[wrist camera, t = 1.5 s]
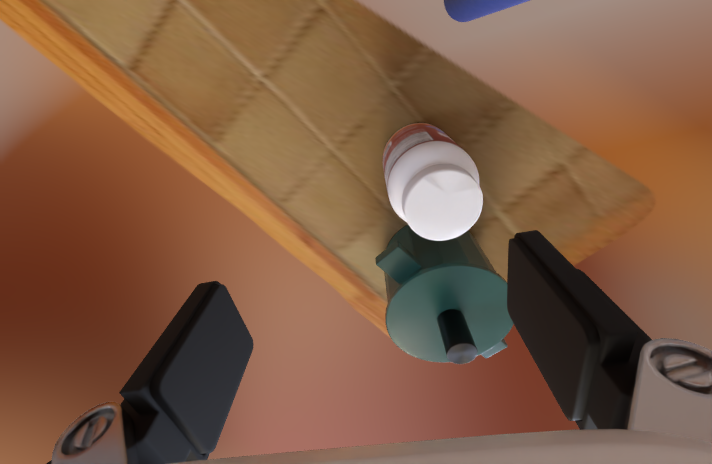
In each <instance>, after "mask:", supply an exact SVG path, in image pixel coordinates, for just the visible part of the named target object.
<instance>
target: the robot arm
mask: <svg viewBox="0 0 712 464" xmlns="http://www.w3.org/2000/svg"><path fill="white" fill-rule="evenodd" d="M507 310H508V313H509V316H510V318H511V320H512V321H513V323H514V325H515V327H516V329H517V330H518V332H519V334H520V335H521V337H522V339H523V341H524V343H525V345H526V346H527V348H528V350H529V352H530V353H531V355H532V357H533V359H534V361H535V363H536V364H537V366H538V368H539V370H540V371H541V373H542V375H543V377H544V379H545V381H546V382H547V384H548V386H549V388H550V389H551V391H552V393H553V395H554V397H555V398H556V400H557V402H558V404H559V405H560V407H561V409H562V411H563V413H564V414H565V416H566V417H567V419H568V420H570V421H573V420H575V421H576V423H577V425H578V427H579V428H580V430H562V431H548V432H531V433H517V434H501V435H488V436H476V437H463V438H451V439H439V440H426V441H414V442H402V443H390V444H379V445H367V446H355V447H344V448H332V449H320V450H310V451H297V452H286V453H275V454H264V455H253V456H242V457H231V458H221V459H210V460H207V458H208V456H209V453H211V452H212V451H213V450H214V449H215V447H216V445H217V442H218V440H219V437H220V434H221V431H222V429H223V426H224V424H225V421H226V419H227V416H228V413H229V411H230V408H231V405H232V403H233V400H234V398H235V395H236V392H237V390H238V387H239V384H240V382H241V379H242V377H243V374H244V371H245V369H246V366H247V363H248V361H249V358H250V355H251V353H252V350H253V339H252V337H251V335H250V333H249V331H248V329H247V327H246V325H245V324H244V322H243V320H242V318H241V316H240V314H239V312H238V310H237V308H236V306H235V304H234V302H233V300H232V298H231V296H230V294H229V292H228V290H227V288H226V287H225V286H224V285H222V284H220V283H219V282H217V281H213V282H207V283H201V284H199V285H197V287H196V288H195V289H194V291H193V292H192V293H191V295H190V296H189V298H188V299H187V300H186V302H185V303H184V305H183V306H182V307H181V309H180V310H179V311H178V313H177V314H176V315H175V317H174V318H173V320H172V321H171V322H170V324H169V325H168V326H167V328H166V329H165V331H164V332H163V333H162V335H161V336H160V337H159V339H158V340H157V342H156V343H155V344H154V346H153V347H152V348H151V350H150V351H149V353H148V354H147V355H146V357H145V358H144V359H143V361H142V362H141V364H140V365H139V366H138V368H137V369H136V370H135V372H134V373H133V375H132V376H131V377H130V379H129V380H128V382H127V383H126V384H125V386H124V387H123V388H122V390H121V391H120V394H121V395H122V396H123V397H124V400H123V402H122V403H121V405H120V404H118V403H116V402H106V403H103V404H99V405H97V406H95V407H93V408H91V409H89V410H88V411H86V412H85V413H84V414H82V415H81V416H79V417H78V418H77V419H76V420H75V421H74V422H73V423H71V424H70V425H69V426H68V428H67V429H66V430H65V431H64V432H63V433H62V434H61V436H60V438H59V439H58V441H57V442H56V444H55V448H54V450H53V455H52V460H51V461H50V462H48V463H47V464H712V351H711V350H709V349H707V348H705V347H702V346H700V345H697V344H694V343H691V342H687V341H683V340H678V339H667V338H661V339H656V340H652V339H651V338H650V337H649V336H647V334H645V332H644V331H643V330H641V329H640V328H639V327H638V326H637V325H636V324H635V323H634V322H633V321H632V320H631V319H630V318H629V317H628V316H627V315H626V314H625V313H624V312H623V311H622V310H621V309H620V308H619V307H618V306H617V305H616V304H615V303H614V302H613V301H612V300H611V299H610V298H609V297H608V296H607V295H606V294H605V293H604V292H603V291H602V290H601V289H600V288H599V287H598V286H597V285H596V284H595V283H594V282H593V281H592V280H591V279H590V278H589V277H588V276H587V275H586V274H585V273H584V272H582V271H581V270H579V269H576V268H575V267H574V266H573V265H572V264H571V263H570V262H569V261H568V260H567V259H566V258H565V257H564V256H563V255H562V254H561V253H560V252H559V251H558V250H557V249H556V248H555V247H554V246H553V245H552V244H551V243H550V242H549V241H548V240H547V239H546V238H545V237H544V236H543V235H542V234H541V233H540V232H539V231H537V230H534V231H528V232H522V233H517V234H515V237H514V239H510V240H509V252H508V283H507Z"/></svg>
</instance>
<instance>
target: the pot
mask: <svg viewBox="0 0 712 464" xmlns="http://www.w3.org/2000/svg"><path fill="white" fill-rule="evenodd" d="M456 262H461V263H471V264H477V265H480V266H483V267H486V268H488V269H490V270H493V271H494V272H496V271H495V270H494V268H493V266H492V265H491V263H490V262H489V260H488V258H487V257H486V255H485V254H484V252H483V250H482V249H481V247H480V246H479V244H478V242H477V241H476V239H475V238H474V237H473V236H472V234H471V233H470V232H469V231H466V232H465V233H463V234H462V235H460V236H458V237H456V238H453V239H449V240H443V241H436V240H429V239H426V238H424V237H421V236H420V235H418V234H417V233H415V232H414V231H413V230H412V229H411V228H410V226H409V225H406V226H405V227H403V228H402V229H401V230H399V231H398V232H397V233H396V234H395V235H394V236H393V238H392V239H391V240H390V242H389V244H388V246H387V248H386V250H385V251H383V252H382V253H381V254H380V255H378V256H377V257H376V265H377V266H379V267H380V268H381V269H382V270H383V271H384V272H385V281H386V291H387V300H388V302H389V300H390V298H391V296H392V294H393V293H394V292H395V290H396V289H397V288H398V287H399V286H400V285H401V284H402V283H403V282H404V281H405V280H406V279H408V278H409V277H411V276H412V275H414V274H415V273H417V272H419V271H421V270H423V269H426V268H429V267H431V266H435V265H439V264H445V263H456ZM506 347H507V344H506V342H505V340H504V338H503V339H502V340H501V341H500V342H499V343H498V344H497V345H495V346H494V347H492V348H491V349H489V350H488V351H486V352H484V353H482V354H481V355H483V356H484V357H485V358H488V357H490V356H491V355H493V354H495V353H497V352H499V351H500V350H502V349H504V348H506Z"/></svg>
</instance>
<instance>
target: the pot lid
mask: <svg viewBox="0 0 712 464" xmlns="http://www.w3.org/2000/svg"><path fill="white" fill-rule="evenodd" d="M513 324H514V323H513V321H512V320H511V318H510V316H509V313H508V310H507V282H506V281H505V279H503V278H502V277H501V276H500V275H499V274H497V273H496V272H494V271H493V270H490V269H488V268H486V267H483V266H480V265H477V264H471V263H461V262H456V263H445V264H439V265H435V266H431V267H429V268H426V269H423V270H421V271H419V272H417V273H415V274H414V275H412V276H411V277H409V278H408V279H406V280H405V281H404V282H403V283H402V284H401V285H400V286H399V287H398V288H397V289H396V290H395V292H394V293H393V294H392V296H391V298H390V300H389V302H388V305H387V308H386V326H387V330H388V333H389V335H390V337H391V339H392V340H393V342H394V343H395V344H396V345H397V346H398V347H399V348H400V349H401V350H403V351H404V352H406V353H408V354H409V355H411V356H414V357H416V358H419V359H423V360H427V361H433V362H453V363H457V364H464V363H468V362H470V361H472V360H473V359H474V358H475V357H476V356H477V355H480V354H482V353H484V352H486V351H488V350H489V349H491V348H492V347H494V346H495V345H497V344H498V343H499V342H500V341H501V340H502V339H503V338H504V337H505V336H506V335H507V334H508V332H509V331H510V329H511V328H512V326H513Z"/></svg>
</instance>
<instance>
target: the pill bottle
mask: <svg viewBox="0 0 712 464" xmlns="http://www.w3.org/2000/svg"><path fill="white" fill-rule="evenodd" d="M383 169H384V175H385V180H386V186H387V191H388V196H389V200H390V203H391V205H392V207H393V209H394V211H395V212H396V213H397V215H398V216H399V217H400V218H402V219H403V220H404V221H406V222H407V223H408V225H409V226H410V228H411V229H412V230H413V231H414V232H415V233H417V234H418V235H420V236H421V237H424V238H426V239H429V240H436V241H443V240H449V239H453V238H456V237H458V236H460V235H462V234H463V233H465V232H466V231H468V230H469V229H470V228H471V227H472V226H473V225H474V223H475V222H476V221H477V219H478V218H479V216H480V213H481V210H482V206H483V195H482V191H481V188H480V186H479V174H478V170H477V167H476V165H475V163H474V161H473V160H472V159H471V157H470V156H469V155H468V154H467V153H466V152H465V151H464V150H463V149H462V148H461V147H460V146H459V145H457V144H456V143H455V142H454V141H453V140H452V139H451V138H450V137H448V136H447V135H446V134H445V133H444V132H443V131H442V130H440V129H439V128H437V127H435V126H433V125H430V124H426V123H414V124H410V125H407V126H405V127H403V128H401V129H399V130H398V131H397V132H396V133H395V134H394V135H393V136H392V137H391V138H390V139H389V141H388V143H387V144H386V147H385V149H384V153H383Z"/></svg>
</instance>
